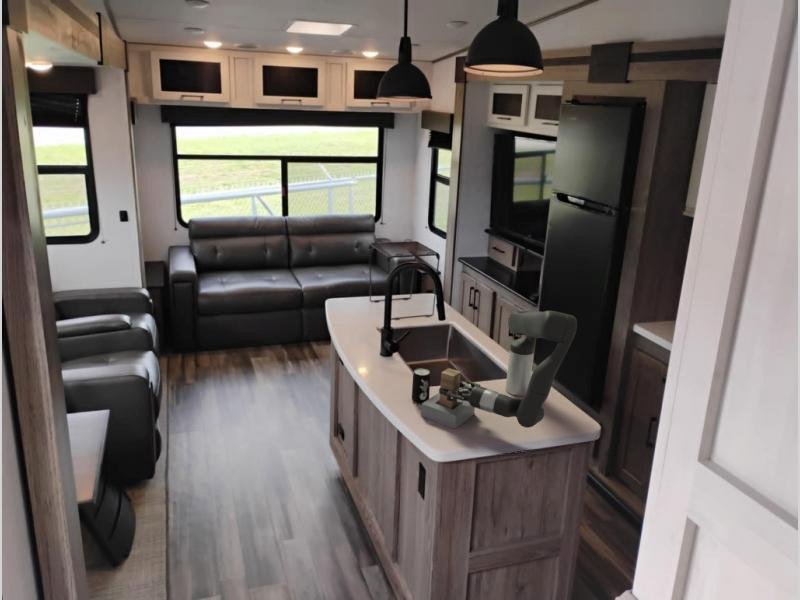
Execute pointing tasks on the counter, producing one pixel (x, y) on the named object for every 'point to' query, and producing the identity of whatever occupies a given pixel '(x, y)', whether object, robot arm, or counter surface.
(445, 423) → the well block
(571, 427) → the counter surface
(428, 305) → the counter surface
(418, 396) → the beverage can
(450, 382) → the tall wooden block
